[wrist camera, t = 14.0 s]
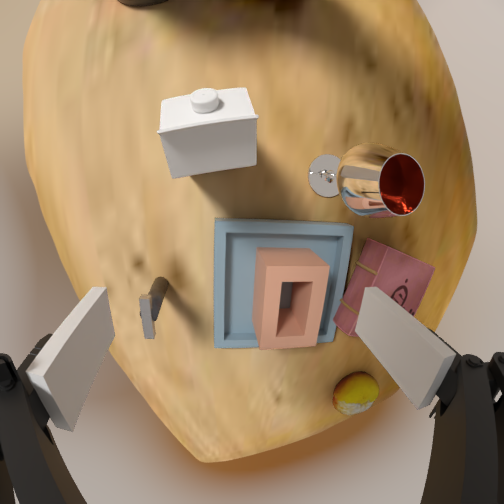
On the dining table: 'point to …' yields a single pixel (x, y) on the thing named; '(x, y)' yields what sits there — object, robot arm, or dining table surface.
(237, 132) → the milk carton
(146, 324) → the grey t-shaped piece
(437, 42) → the dining table surface
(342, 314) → the book
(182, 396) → the dining table surface
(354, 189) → the wineglass
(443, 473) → the robot arm
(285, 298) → the tray
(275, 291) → the pink window frame
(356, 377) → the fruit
